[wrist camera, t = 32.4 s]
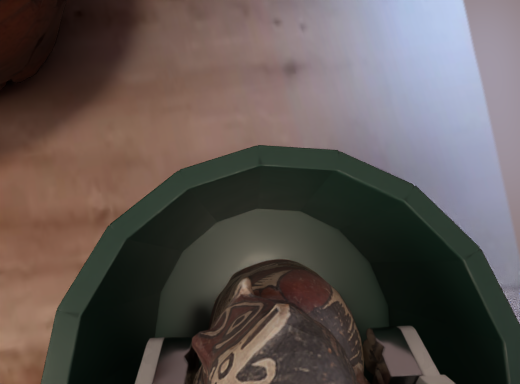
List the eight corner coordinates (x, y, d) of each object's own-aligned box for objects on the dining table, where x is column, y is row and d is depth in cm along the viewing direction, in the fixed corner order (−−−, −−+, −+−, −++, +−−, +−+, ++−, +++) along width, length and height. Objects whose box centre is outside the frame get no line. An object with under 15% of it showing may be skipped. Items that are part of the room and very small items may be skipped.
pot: (431, 262, 18) (582, 259, 10) (342, 532, 15) (456, 875, 6) (219, 162, 19) (194, 84, 11) (94, 390, 16) (-77, 523, 8)
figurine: (257, 236, 18) (263, 178, 6) (360, 304, 17) (602, 392, 5) (185, 345, 16) (8, 554, 4) (295, 427, 15) (430, 941, 4)
